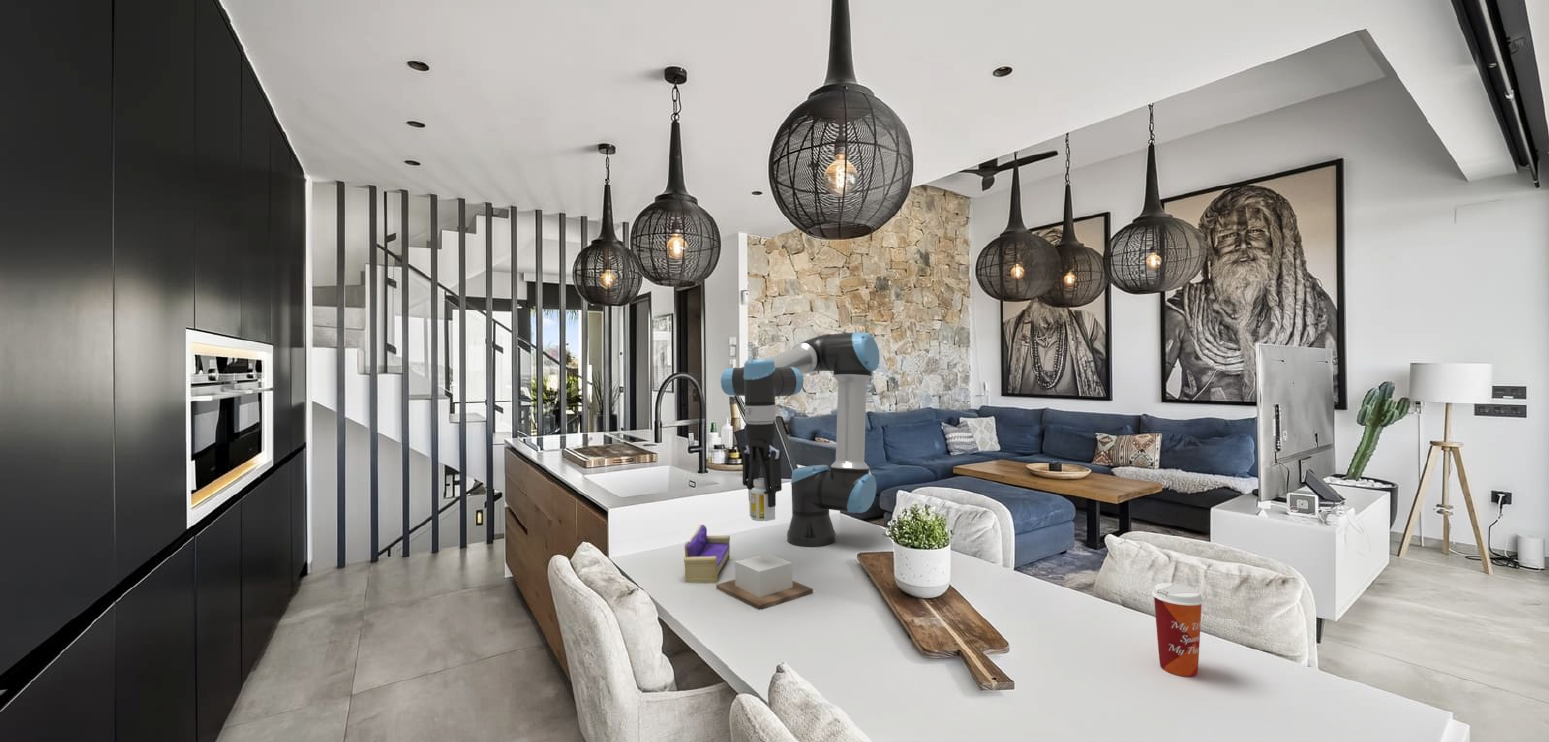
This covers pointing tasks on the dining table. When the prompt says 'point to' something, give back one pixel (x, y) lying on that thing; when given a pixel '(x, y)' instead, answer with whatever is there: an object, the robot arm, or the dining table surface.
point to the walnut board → (767, 600)
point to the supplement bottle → (758, 500)
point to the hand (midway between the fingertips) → (762, 517)
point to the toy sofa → (705, 556)
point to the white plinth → (763, 575)
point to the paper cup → (1178, 627)
